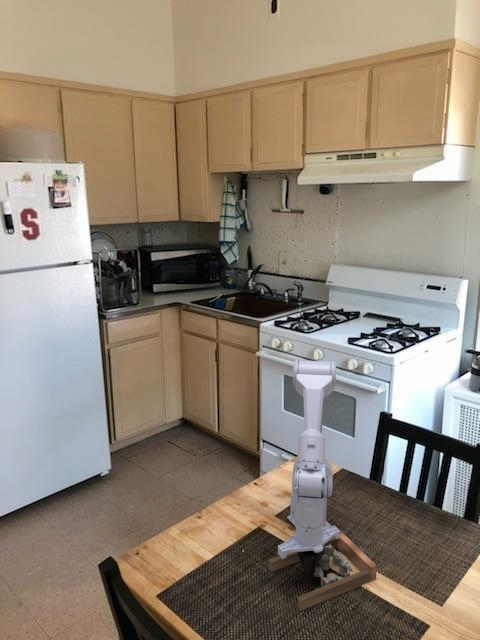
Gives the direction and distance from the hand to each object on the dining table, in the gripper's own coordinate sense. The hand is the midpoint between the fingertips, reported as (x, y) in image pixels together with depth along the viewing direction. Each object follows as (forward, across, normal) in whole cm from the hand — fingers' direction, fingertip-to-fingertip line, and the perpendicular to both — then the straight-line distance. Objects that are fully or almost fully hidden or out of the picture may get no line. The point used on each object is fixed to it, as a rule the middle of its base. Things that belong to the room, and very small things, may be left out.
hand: (308, 573), depth 114 cm
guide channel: (+1, +3, 0) cm, 3 cm away
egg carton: (+2, +5, 0) cm, 5 cm away
